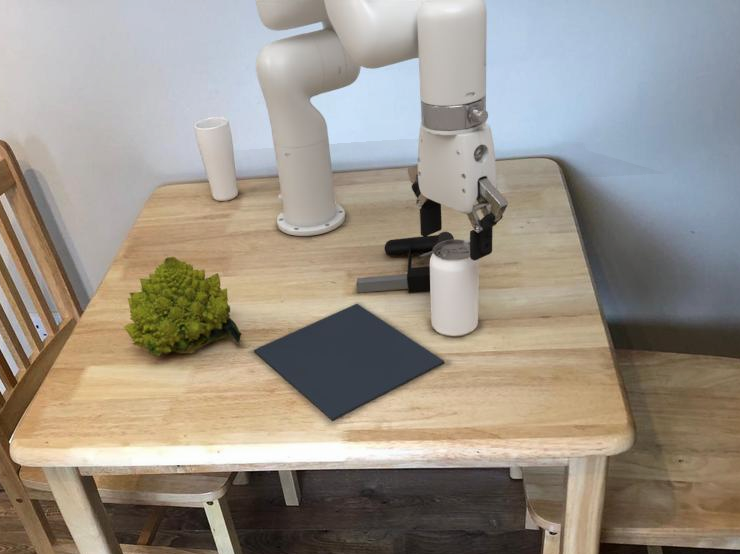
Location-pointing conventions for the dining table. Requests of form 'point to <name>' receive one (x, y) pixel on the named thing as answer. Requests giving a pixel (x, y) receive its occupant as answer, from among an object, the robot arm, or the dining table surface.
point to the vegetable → (179, 310)
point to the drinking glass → (217, 156)
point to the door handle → (416, 276)
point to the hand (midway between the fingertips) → (455, 244)
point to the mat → (347, 360)
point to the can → (454, 288)
